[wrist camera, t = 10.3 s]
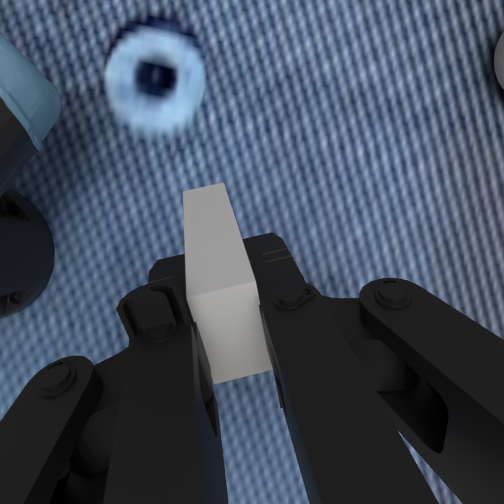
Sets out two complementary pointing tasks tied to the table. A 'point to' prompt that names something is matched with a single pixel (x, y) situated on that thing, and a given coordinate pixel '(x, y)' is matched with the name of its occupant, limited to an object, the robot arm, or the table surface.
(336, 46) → the table surface
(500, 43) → the teacup
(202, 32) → the table surface
